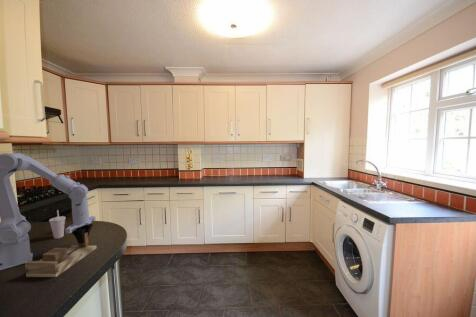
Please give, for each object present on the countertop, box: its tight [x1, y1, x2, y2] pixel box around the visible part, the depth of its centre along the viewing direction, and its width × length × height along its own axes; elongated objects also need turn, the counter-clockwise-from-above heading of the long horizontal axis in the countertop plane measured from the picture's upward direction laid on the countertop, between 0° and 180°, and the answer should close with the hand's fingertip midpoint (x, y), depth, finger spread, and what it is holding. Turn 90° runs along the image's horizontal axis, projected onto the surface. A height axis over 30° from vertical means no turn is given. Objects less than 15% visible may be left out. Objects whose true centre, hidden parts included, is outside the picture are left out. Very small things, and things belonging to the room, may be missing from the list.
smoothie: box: [48, 209, 66, 239], centre depth 105 cm, size 6×6×14 cm
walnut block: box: [42, 232, 89, 264], centre depth 85 cm, size 17×5×6 cm, turn 178°
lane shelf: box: [24, 245, 98, 278], centre depth 83 cm, size 20×11×5 cm, turn 178°
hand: (83, 242), depth 92 cm, fingers closed on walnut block, 2 cm apart
